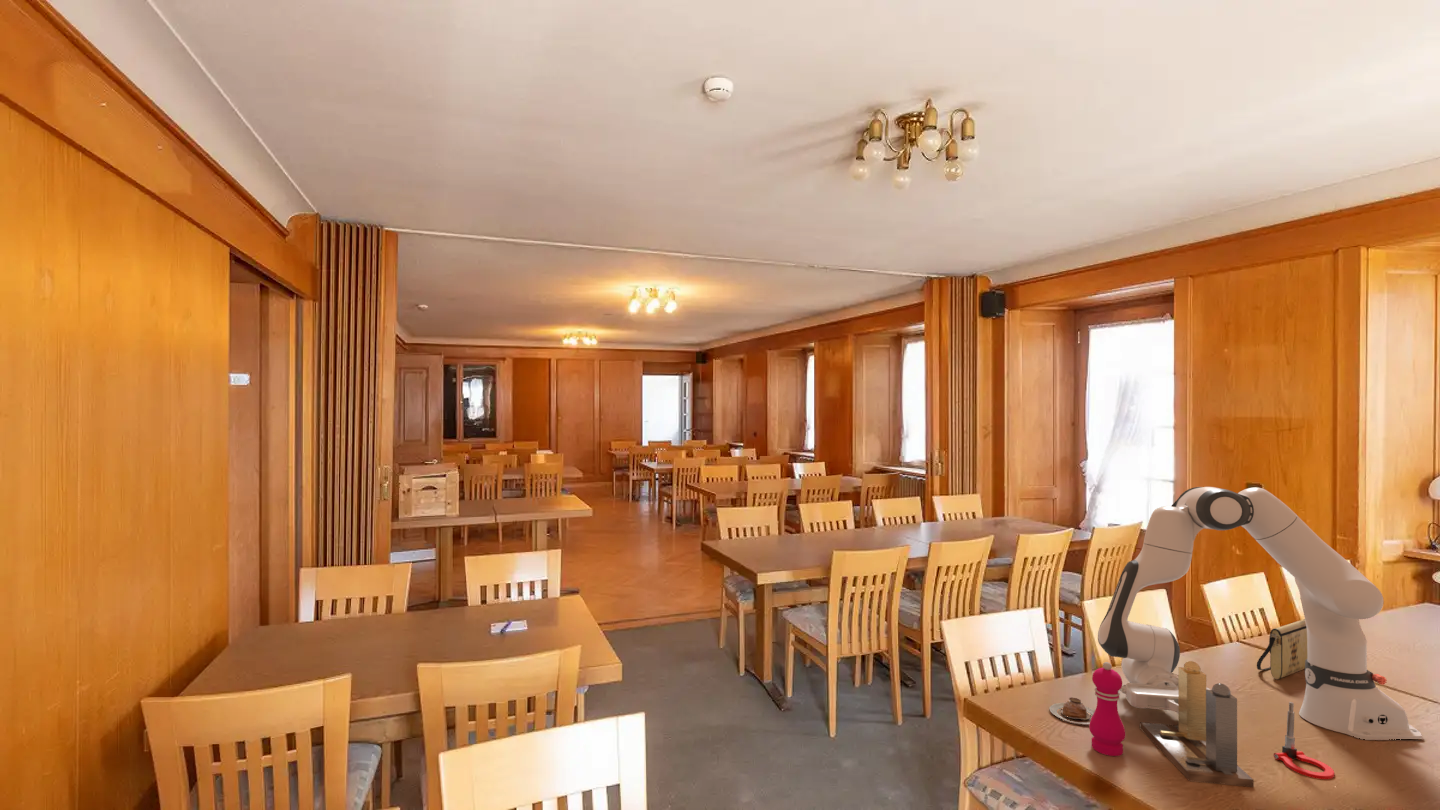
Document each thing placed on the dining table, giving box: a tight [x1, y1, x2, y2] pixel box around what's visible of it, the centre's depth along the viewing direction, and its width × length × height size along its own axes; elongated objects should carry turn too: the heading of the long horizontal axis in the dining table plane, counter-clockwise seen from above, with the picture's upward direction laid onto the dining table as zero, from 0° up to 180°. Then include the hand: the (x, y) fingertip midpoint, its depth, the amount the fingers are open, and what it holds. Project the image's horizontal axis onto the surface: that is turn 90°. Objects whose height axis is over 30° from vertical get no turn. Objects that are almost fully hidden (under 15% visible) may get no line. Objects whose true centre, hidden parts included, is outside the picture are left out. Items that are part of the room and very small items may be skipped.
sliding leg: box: [1160, 660, 1207, 741], centre depth 157 cm, size 8×4×17 cm, turn 79°
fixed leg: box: [1186, 682, 1238, 773], centre depth 145 cm, size 8×4×18 cm, turn 79°
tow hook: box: [1273, 701, 1335, 780], centre depth 147 cm, size 8×13×9 cm
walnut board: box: [1139, 721, 1255, 788], centre depth 152 cm, size 12×24×2 cm, turn 169°
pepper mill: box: [1088, 661, 1126, 757], centre depth 155 cm, size 7×7×20 cm
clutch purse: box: [1256, 618, 1307, 681], centre depth 204 cm, size 30×7×15 cm, turn 119°
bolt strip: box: [1142, 722, 1233, 775], centre depth 153 cm, size 9×22×1 cm, turn 169°
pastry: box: [1049, 697, 1096, 726], centre depth 172 cm, size 12×12×5 cm
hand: (1187, 712), depth 158 cm, fingers closed, pressing on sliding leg
